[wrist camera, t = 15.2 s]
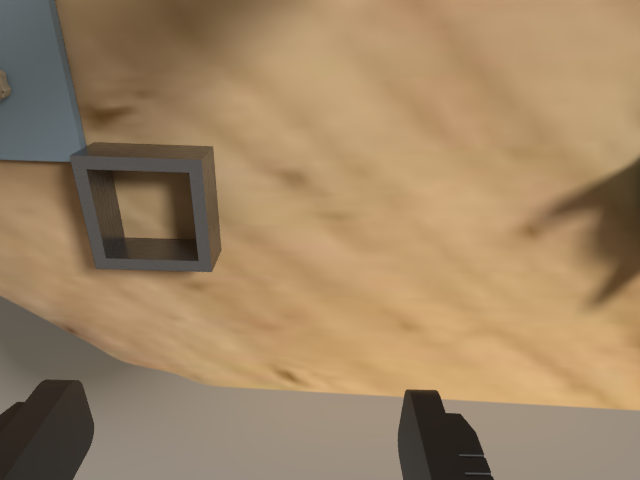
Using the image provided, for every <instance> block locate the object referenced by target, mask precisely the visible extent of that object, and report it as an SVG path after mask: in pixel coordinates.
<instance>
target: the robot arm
mask: <svg viewBox="0 0 640 480" xmlns="http://www.w3.org/2000/svg"><path fill="white" fill-rule="evenodd" d="M93 434H94V422H93V419H92V415H91V412H90V408H89V405H88V402H87V398H86V395H85V391H84V388H83V385H82V383H81V382H80V381H78V380H44V381H42V382H41V383H40V384H39V385H38V386H37V387H36V389H35V390H34V391H33V392H32V394H31V395H30V396H29V398H28V399H27V400H26V402H17V403H15V404H14V405H13V406H11V407H10V408H9V409H7V410H6V411H5V412H3V413H2V414H1V415H0V480H73V478H74V476H75V474H76V472H77V471H78V469H79V467H80V465H81V463H82V461H83V459H84V458H85V456H86V454H87V452H88V450H89V448H90V446H91V443H92V439H93ZM398 450H399V451H398V452H399V458H400V464H401V469H402V475H403V480H494V479H493V477H492V476H491V471H490V468H489V466H488V463H487V461H486V458H484V453H483V450H482V448H481V445H480V442H479V440H478V437H477V435H476V432H475V431H474V430H473V429H472V427H471V426H470V425H469V424H468V422H467V421H466V420H465V419H464V418H463V417H462V415H461V414H454V413H445V410H444V407H443V404H442V401H441V397H440V395H439V393H438V391H436V390H406V391H405V395H404V401H403V407H402V412H401V419H400V424H399V430H398Z"/></svg>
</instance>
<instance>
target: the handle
mask: <svg viewBox="0 0 640 480" xmlns="http://www.w3.org/2000/svg"><path fill="white" fill-rule="evenodd" d="M10 94H11V88H10V87H9V85H8V82H7V75H6V74H5V72H4V71H3V70H0V101H1V99H2V98H5V97H8V96H9V95H10Z"/></svg>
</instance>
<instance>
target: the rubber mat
mask: <svg viewBox="0 0 640 480" xmlns="http://www.w3.org/2000/svg"><path fill="white" fill-rule="evenodd" d="M0 70H3V71H4V72H5V74H6V75H7V82H8V85H9V87H10V88H11V94H10V95H9V96H8V97H5V98H2V99H1V101H0V160H26V161H56V162H71V161H70V156H69V155H71V154H73V153H75V152H77V151H79V150H81V149H82V148H84V147H86V143H85V138H84V133H83V129H82V124H81V120H80V115H79V110H78V106H77V101H76V96H75V92H74V87H73V83H72V78H71V73H70V69H69V64H68V59H67V55H66V50H65V46H64V41H63V36H62V32H61V27H60V22H59V18H58V13H57V9H56V4H55V0H0Z"/></svg>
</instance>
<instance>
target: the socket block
mask: <svg viewBox="0 0 640 480" xmlns="http://www.w3.org/2000/svg"><path fill="white" fill-rule="evenodd" d="M69 156H70V161H71V165H72V169H73V173H74V177H75V182H76V186H77V190H78V194H79V199H80V203H81V207H82V211H83V215H84V220H85V224H86V228H87V232H88V237H89V241H90V245H91V249H92V253H93V258H94V262H95V266H96V269H127V270H161V271H195V272H212V271H213V268H214V266H215V264H216V261H217V259H218V257H219V254H220V252H221V241H220V229H219V216H218V204H217V191H216V179H215V166H214V153H213V147H212V146H182V145H153V144H124V143H95V142H94V143H92V144H90V145H88V146H86V147H84V148H82V149H81V150H79V151H77V152H75V153H73V154H71V155H69ZM112 170H122V171H153V172H183V173H189V177H190V186H191V195H192V204H193V214H194V223H195V232H196V240H185V239H152V238H125V236H124V231H123V226H122V221H121V216H120V211H119V205H118V200H117V195H116V190H115V185H114V180H113V174H112Z"/></svg>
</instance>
